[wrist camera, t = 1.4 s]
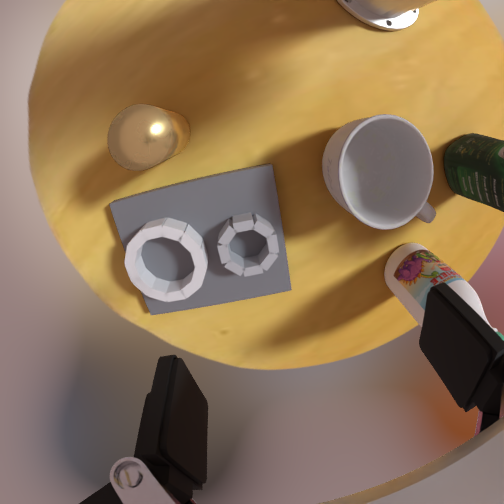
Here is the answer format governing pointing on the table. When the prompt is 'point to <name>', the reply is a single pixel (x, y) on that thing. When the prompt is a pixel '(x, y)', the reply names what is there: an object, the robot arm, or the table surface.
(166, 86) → the table surface
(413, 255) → the milk bottle
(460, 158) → the coffee jar
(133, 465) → the robot arm
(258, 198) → the collar board
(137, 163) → the gold cylindrical peg
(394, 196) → the teacup
